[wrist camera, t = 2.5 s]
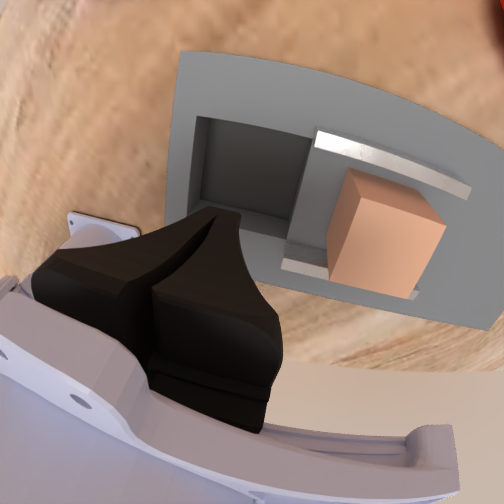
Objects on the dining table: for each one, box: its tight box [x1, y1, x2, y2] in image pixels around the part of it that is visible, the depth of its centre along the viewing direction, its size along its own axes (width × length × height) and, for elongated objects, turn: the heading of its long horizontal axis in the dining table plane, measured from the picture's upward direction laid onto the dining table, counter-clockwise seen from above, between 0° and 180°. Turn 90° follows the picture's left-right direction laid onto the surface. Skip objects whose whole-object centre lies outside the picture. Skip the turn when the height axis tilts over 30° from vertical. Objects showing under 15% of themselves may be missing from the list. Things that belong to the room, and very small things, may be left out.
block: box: [326, 167, 446, 299], centre depth 15 cm, size 4×4×4 cm
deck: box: [165, 51, 504, 331], centre depth 18 cm, size 14×28×3 cm, turn 80°
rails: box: [280, 125, 472, 300], centre depth 16 cm, size 8×9×2 cm
